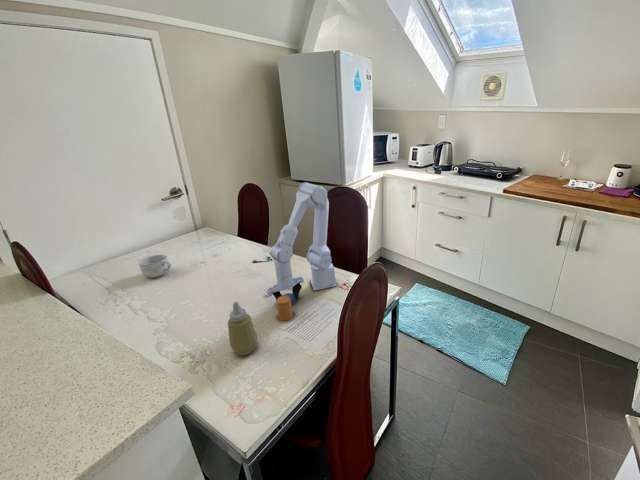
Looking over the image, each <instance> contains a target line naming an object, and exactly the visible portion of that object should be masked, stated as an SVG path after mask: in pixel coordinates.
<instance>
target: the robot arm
mask: <svg viewBox="0 0 640 480" xmlns="http://www.w3.org/2000/svg"><path fill="white" fill-rule="evenodd" d="M297 189H298V190H297V192H296V193H295V195H296V196H295V203H294V206H293V209H292V211H291V214H290V217H289V220H288V223H287V224H285V225H284V226H283V227H282V228H281V229H280V231H279V233H280V234H279V236H278V238H277V241H276V242H275V244H274V245H273V246H272V247H271V249H270V252H269V255H270V257H272V258H273V263H274V269H275V275H276V282H277V283H276V284H274V285H273V286H271V287H270V288H267V289H266V294H267V296H268V297H272V296H273V297H274V299H275V301H276V300H277V298H279V297H280V296H283V295H284V294H282V293H281V292H282V291H291V292H292V294H294V295H295V297H296V301H297V300H299V295H300V292H301V290H302V287H303V286H302V284H304V282H305V279H304V277H303V276H297V277H293V271H292V270H293V269H292V264H291V259H292V257H293V255H294V251H293V249H294V248H293V246H294V244H295V241H296V239H297V236H298V234H299V230H298V226H299V225H300V222H301V221H302V218H303V216H304V215H305V213H306V211H307V209H310V208H313V207H314V214H313V215H314V216H313V231H312V233H313V234H312V244H311V245H309V247H308V250H307V251H308V252H307V253H306V261H307V262H308V263H309V265H310V270H311V271H310V272H311V280H310V284H311V286H312V289H313V291H319V290H324V289H328V288H334V287H336V286H337V284H336V271H335V266H334V265H333V263H332V256H331V250H330V248H329V247H328V246H327V242H328V241H327V240H328V227H329V213H330V212H329V210H330V202H329V199H328V191H327V189H326V188H325V187H323V186H321V185H316V184H313V183H309V182H308V181H307V182H306V181H305V182H302V183H301V184H300V185H299V187H298V188H297Z"/></svg>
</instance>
